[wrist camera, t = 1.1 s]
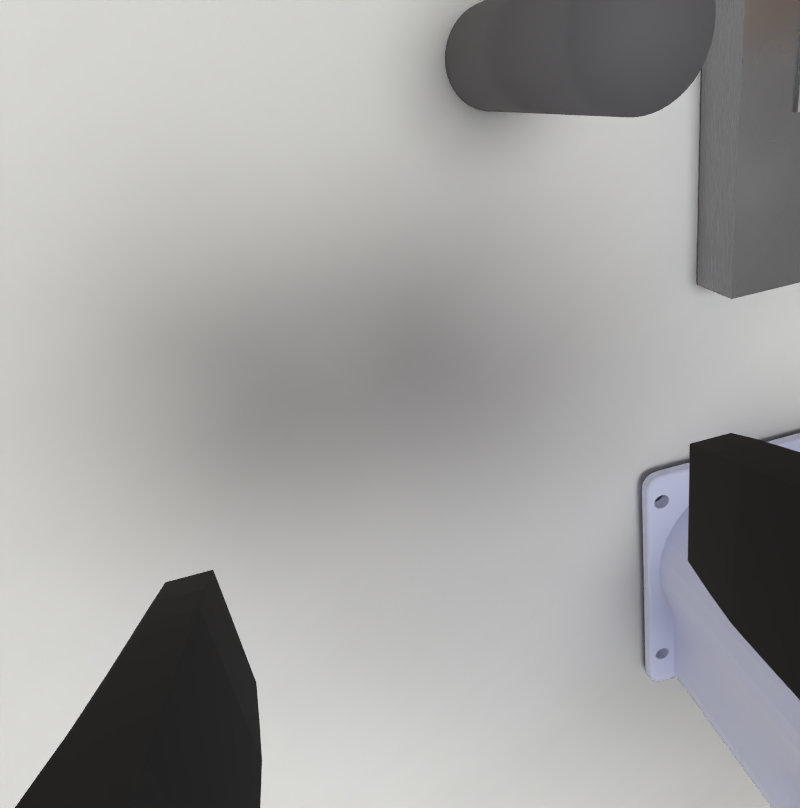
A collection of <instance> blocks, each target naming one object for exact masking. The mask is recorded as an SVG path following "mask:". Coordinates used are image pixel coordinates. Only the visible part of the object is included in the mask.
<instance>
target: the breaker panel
mask: <svg viewBox="0 0 800 808" xmlns="http://www.w3.org/2000/svg"><path fill="white" fill-rule="evenodd" d="M715 3H716V19H715V29H714V34H713V39H712V43H711V46H710V50H709V52H708V55H707V57H706V60H705V62H704V64H703V66H702V78H701V126H700V173H699V220H698V268H697V285H699V286H702V287H704V288H707V289H709V290H711V291H714V292H716V293H719V294H721V295H723V296H726V297H728V298H731V299H733V298H737V297H741V296H745V295H749V294H753V293H758V292H762V291H766V290H770V289H774V288H778V287H782V286H786V285H790V284H795V283H799V282H800V0H715Z"/></svg>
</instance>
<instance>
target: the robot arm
mask: <svg viewBox="0 0 800 808" xmlns="http://www.w3.org/2000/svg"><path fill="white" fill-rule="evenodd" d="M661 495H662V497H661V499H660V500H658V501H656V502H655V500H656V499H657V498H658V497H659V496H661ZM642 511H643V564H644V617H645V669H646V672H647V674H648V675H649V677H650V678H651V679H652V680H653V681H663V680H666V679H670V678H673V677H677V678H678V679H679V681H680V682H681V683H682V685H683V686H684V688H685V689H686V690H687V692H688V693H689V694H690V696H691V697H692V699H693V700H694V701H695V703H696V704H697V706H698V707H699V708H700V710H701V711H702V712H703V714H704V715H705V717H706V718H707V719H708V721H709V722H710V723H711V725H712V726H713V728H714V729H715V730H716V732H717V733H718V734H719V736H720V737H721V739H722V740H723V741H724V743H725V744H726V745H727V747H728V748H729V750H730V751H731V752H732V754H733V755H734V756H735V758H736V759H737V761H738V762H739V763H740V765H741V766H742V767H743V769H744V770H745V772H746V773H747V774H748V776H749V777H750V778H751V780H752V781H753V783H754V784H755V785H756V787H757V788H758V789H759V791H760V792H761V794H762V795H763V796H764V798H765V799H766V800H767V802H768V803H769V805H770V806H771V807H772V808H800V433H797V434H794V435H790V436H786V437H782V438H779V439H775V440H771V441H767V442H764V441H761V440H757V439H753V438H750V437H745V436H741V435H737V434H732V433H729V434H726V435H722V436H718V437H714V438H710V439H707V440H703V441H699V442H695V443H691V444H690V462H689V463H685V464H681V465H678V466H674V467H670V468H666V469H663V470H659V471H656V472H653V473H651V474H650V475H649V476H647V477H646V479H645V480H644V482H643V485H642ZM261 768H262V756H261V740H260V724H259V712H258V699H257V687H256V681H255V678H254V676H253V673H252V670H251V668H250V665H249V663H248V660H247V657H246V655H245V652H244V650H243V647H242V644H241V642H240V639H239V636H238V634H237V631H236V629H235V626H234V623H233V621H232V618H231V615H230V613H229V610H228V608H227V605H226V602H225V600H224V597H223V595H222V592H221V589H220V587H219V584H218V581H217V579H216V576H215V574H214V571H213V570H211V571H207V572H203V573H199V574H195V575H192V576H188V577H184V578H180V579H177V580H173V581H169V582H166V583H165V584H164V586H163V587H162V589H161V590H160V592H159V593H158V595H157V596H156V598H155V599H154V601H153V602H152V604H151V606H150V607H149V609H148V610H147V612H146V613H145V615H144V617H143V618H142V620H141V621H140V623H139V624H138V626H137V628H136V629H135V631H134V632H133V634H132V636H131V637H130V639H129V640H128V642H127V644H126V645H125V647H124V648H123V650H122V652H121V653H120V655H119V656H118V658H117V659H116V661H115V663H114V664H113V666H112V667H111V669H110V671H109V672H108V674H107V675H106V677H105V678H104V680H103V681H102V683H101V684H100V686H99V687H98V689H97V690H96V692H95V693H94V695H93V696H92V698H91V700H90V701H89V703H88V704H87V706H86V707H85V709H84V710H83V712H82V713H81V715H80V716H79V718H78V719H77V721H76V722H75V724H74V725H73V727H72V728H71V730H70V731H69V733H68V734H67V736H66V737H65V739H64V740H63V741H62V743H61V744H60V746H59V747H58V748H57V750H56V751H55V753H54V754H53V755H52V757H51V758H50V760H49V761H48V762H47V764H46V765H45V766H44V768H43V769H42V771H41V772H40V773H39V775H38V776H37V778H36V779H35V780H34V782H33V783H32V785H31V786H30V787H29V789H28V790H27V792H26V793H25V794H24V796H23V797H22V799H21V800H20V801H19V803H18V804H17V806H16V807H15V808H260V796H261Z"/></svg>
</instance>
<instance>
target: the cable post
mask: <svg viewBox="0 0 800 808" xmlns="http://www.w3.org/2000/svg"><path fill="white" fill-rule="evenodd" d="M715 19H716V3H715V0H485V1H483V2H481V3H478V4H476V5H474V6H473V7H471V8H469V9H468V10H467V11H466V12H464V13H463V15H462V16H461V17H460V18H459V19H458V20H457V22H456V23H455V25H454V27H453V28H452V30H451V33H450V35H449V38H448V42H447V46H446V53H445V63H446V71H447V75H448V78H449V81H450V83H451V85H452V87H453V89H454V91H455V92H456V94H457V95H458V96H459V97H460V98H461V99H462V100H463V101H464V102H465V103H467V104H468V105H470V106H472V107H474V108H476V109H479V110H483V111H495V112H519V113H542V114H565V115H588V116H611V117H639V116H644V115H648V114H651V113H654V112H656V111H658V110H661V109H663V108H664V107H666V106H667V105H669V104H671V103H672V102H673V101H674V100H676V99H677V98H678V97H679V96H680V95H681V94H682V93H683V92H684V91H685V90H686V89H687V88H688V87H689V86H690V84H691V83H692V82H693V81H694V79H695V78H696V76H697V75H698V73H699V72H700V70H701V68H702V66H703V64H704V62H705V60H706V57H707V55H708V52H709V50H710V46H711V43H712V39H713V34H714V29H715Z"/></svg>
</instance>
